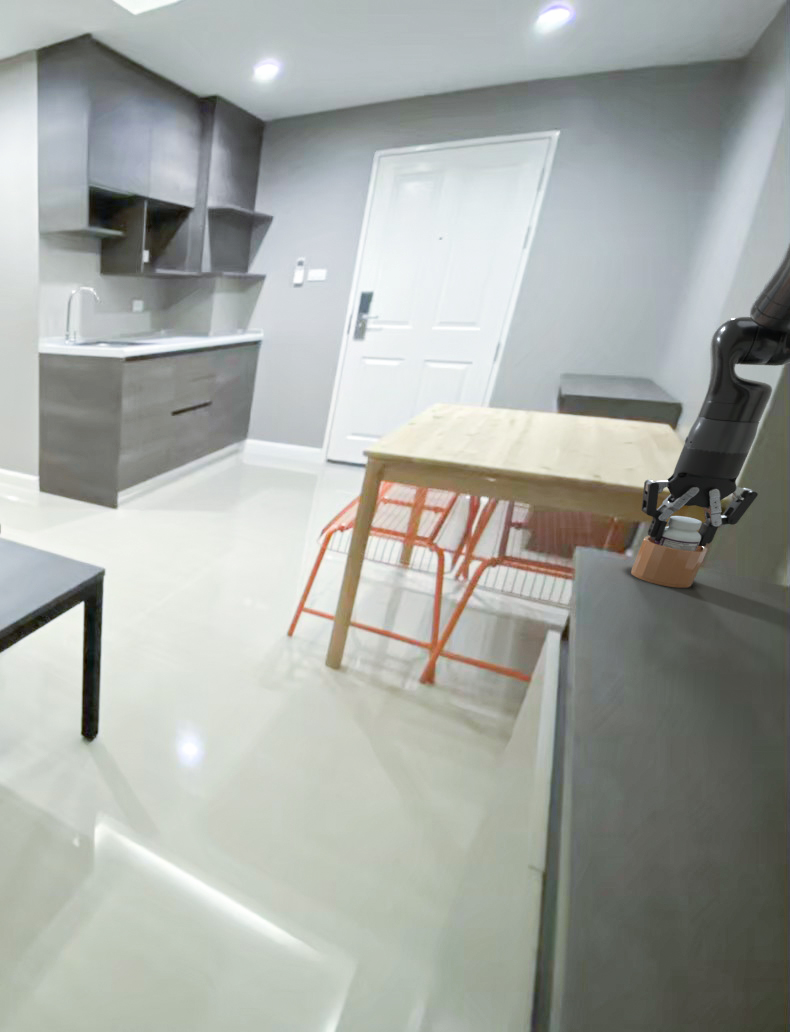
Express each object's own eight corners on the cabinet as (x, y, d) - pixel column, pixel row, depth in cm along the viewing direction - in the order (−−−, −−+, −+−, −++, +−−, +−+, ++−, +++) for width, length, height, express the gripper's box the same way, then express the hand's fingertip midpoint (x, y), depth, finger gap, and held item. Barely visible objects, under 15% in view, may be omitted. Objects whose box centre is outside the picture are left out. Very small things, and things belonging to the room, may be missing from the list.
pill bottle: (646, 562, 112) (666, 512, 108) (687, 570, 108) (708, 519, 104) (643, 569, 108) (663, 518, 105) (684, 578, 105) (706, 526, 101)
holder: (679, 575, 111) (694, 539, 108) (699, 592, 104) (716, 554, 101) (623, 567, 114) (637, 532, 111) (639, 583, 107) (654, 547, 105)
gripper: (668, 446, 100) (632, 542, 106) (790, 455, 94) (743, 556, 100) (650, 438, 106) (617, 529, 112) (763, 446, 100) (721, 541, 106)
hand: (677, 541), depth 106 cm, fingers closed on pill bottle, 5 cm apart
